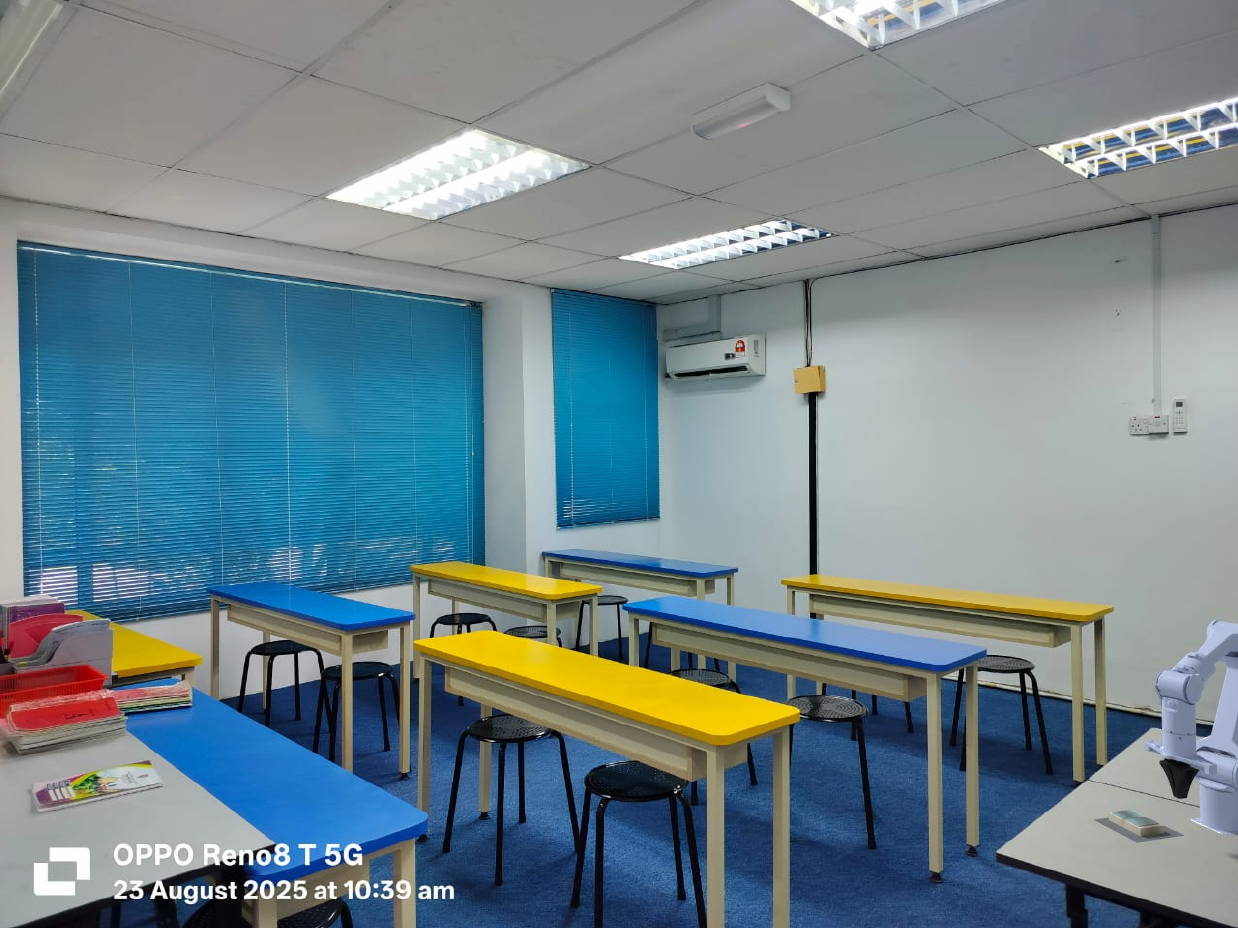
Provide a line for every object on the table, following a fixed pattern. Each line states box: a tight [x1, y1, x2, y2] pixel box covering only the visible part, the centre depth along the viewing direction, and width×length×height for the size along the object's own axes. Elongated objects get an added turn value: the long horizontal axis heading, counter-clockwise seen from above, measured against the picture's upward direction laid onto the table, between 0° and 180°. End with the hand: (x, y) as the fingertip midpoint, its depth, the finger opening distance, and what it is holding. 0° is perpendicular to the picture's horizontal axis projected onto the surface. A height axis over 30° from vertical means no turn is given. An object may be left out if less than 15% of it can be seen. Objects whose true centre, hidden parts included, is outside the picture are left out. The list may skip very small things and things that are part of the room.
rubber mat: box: [1093, 816, 1185, 843], centre depth 170 cm, size 12×11×1 cm
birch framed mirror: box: [1108, 809, 1165, 836], centre depth 171 cm, size 6×2×8 cm
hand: (1180, 797), depth 164 cm, fingers closed
